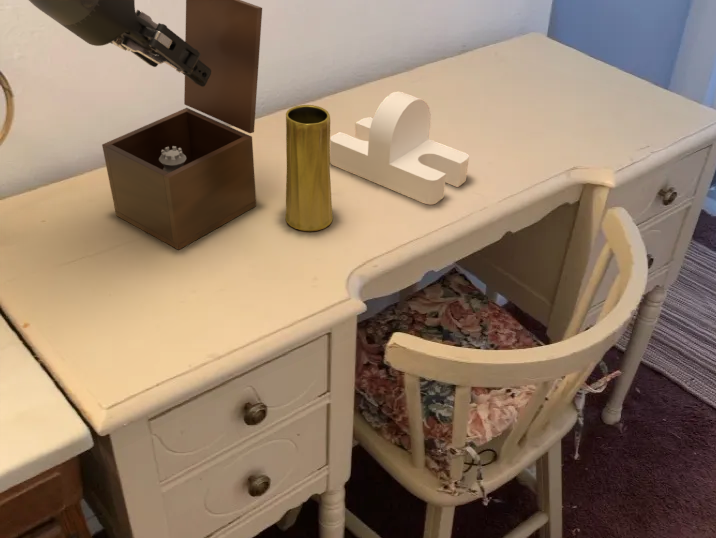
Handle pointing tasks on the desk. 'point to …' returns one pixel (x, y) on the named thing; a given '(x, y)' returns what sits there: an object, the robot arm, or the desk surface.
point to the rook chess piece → (172, 159)
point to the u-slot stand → (400, 151)
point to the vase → (308, 168)
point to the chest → (181, 177)
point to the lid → (225, 59)
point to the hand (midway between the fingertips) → (181, 68)
